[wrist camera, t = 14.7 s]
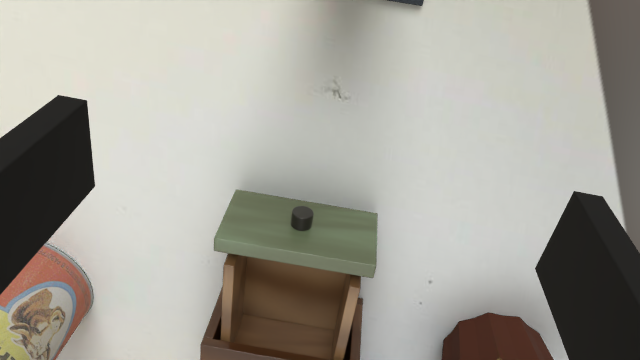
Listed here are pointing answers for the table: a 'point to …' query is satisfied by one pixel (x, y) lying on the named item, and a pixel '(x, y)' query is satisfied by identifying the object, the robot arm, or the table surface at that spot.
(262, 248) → the drawer
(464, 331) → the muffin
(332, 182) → the table surface
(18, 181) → the robot arm
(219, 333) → the cabinet
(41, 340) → the canned food
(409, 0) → the mat
